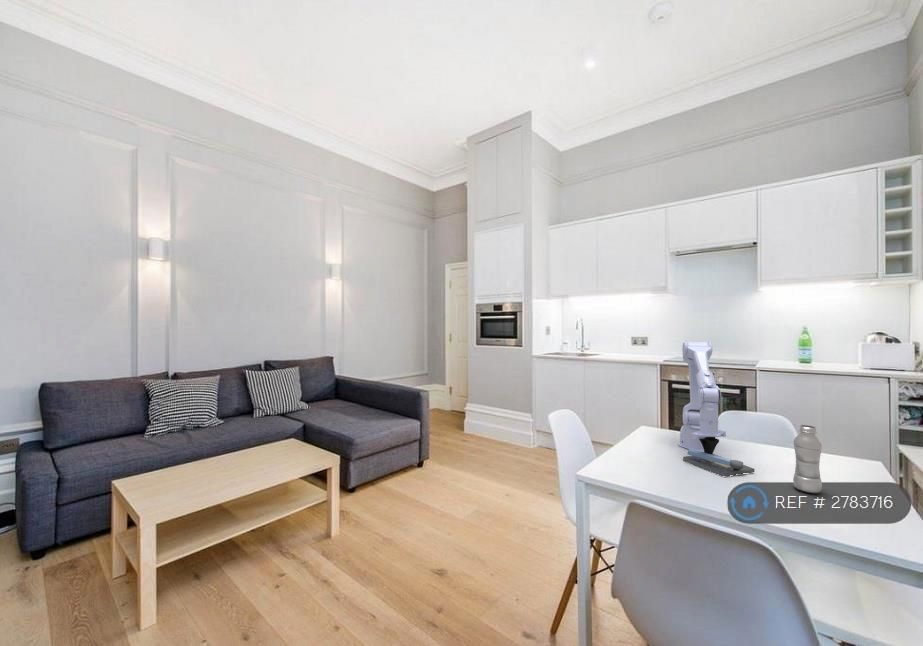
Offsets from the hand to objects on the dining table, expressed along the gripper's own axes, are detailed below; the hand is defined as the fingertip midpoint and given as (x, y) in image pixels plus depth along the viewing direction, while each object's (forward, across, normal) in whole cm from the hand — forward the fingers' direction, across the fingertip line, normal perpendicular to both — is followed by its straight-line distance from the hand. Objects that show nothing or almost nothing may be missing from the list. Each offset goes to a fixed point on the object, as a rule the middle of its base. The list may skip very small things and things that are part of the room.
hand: (708, 457), depth 139 cm
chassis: (+2, +1, -3) cm, 4 cm away
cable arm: (0, -1, -3) cm, 4 cm away
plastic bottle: (+3, +8, -26) cm, 27 cm away
